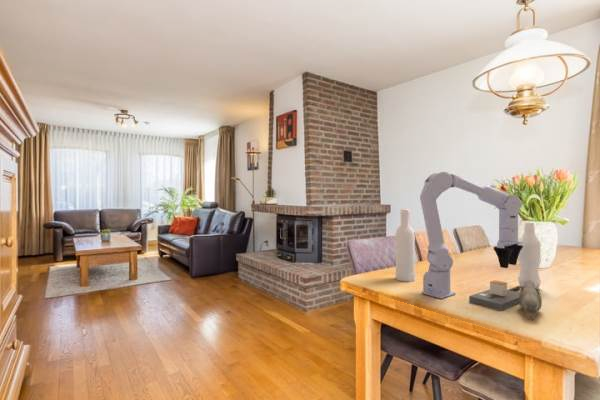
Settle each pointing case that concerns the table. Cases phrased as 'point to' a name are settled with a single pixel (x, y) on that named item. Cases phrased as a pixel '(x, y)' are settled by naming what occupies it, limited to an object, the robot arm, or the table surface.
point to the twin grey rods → (515, 288)
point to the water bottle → (529, 256)
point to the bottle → (405, 249)
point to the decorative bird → (530, 299)
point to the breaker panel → (495, 299)
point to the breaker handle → (498, 288)
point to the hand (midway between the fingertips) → (508, 266)
